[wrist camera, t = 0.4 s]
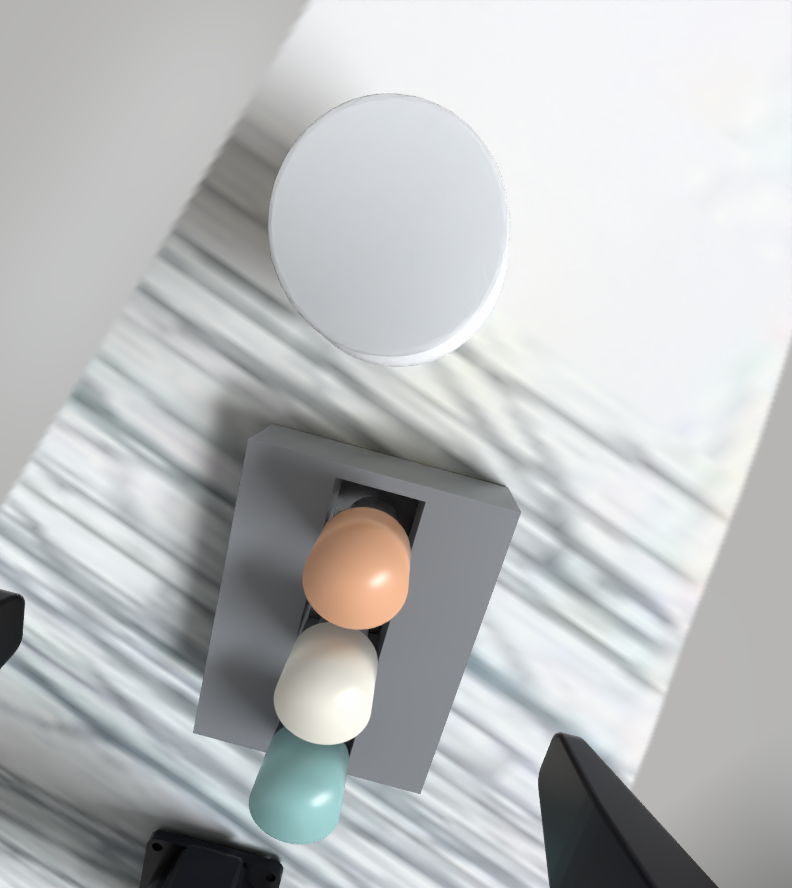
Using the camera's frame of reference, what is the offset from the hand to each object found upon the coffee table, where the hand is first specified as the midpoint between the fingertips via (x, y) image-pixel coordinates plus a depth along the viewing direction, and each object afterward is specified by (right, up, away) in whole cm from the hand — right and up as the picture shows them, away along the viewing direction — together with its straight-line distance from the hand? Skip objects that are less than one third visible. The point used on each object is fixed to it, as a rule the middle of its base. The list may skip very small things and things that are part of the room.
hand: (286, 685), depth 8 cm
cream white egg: (0, -3, +9) cm, 10 cm away
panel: (0, -2, +11) cm, 11 cm away
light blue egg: (-1, -6, +10) cm, 12 cm away
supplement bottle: (+2, +9, +8) cm, 13 cm away
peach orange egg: (+1, +1, +8) cm, 9 cm away
